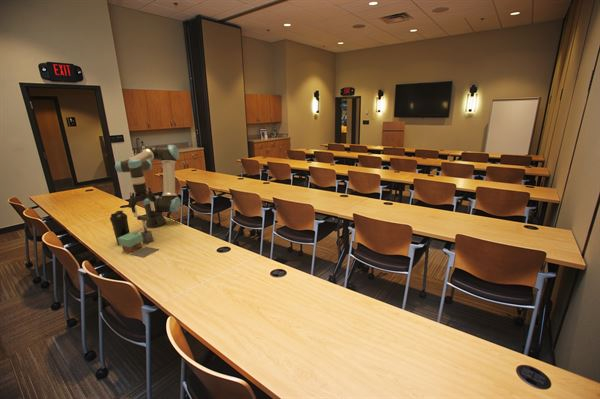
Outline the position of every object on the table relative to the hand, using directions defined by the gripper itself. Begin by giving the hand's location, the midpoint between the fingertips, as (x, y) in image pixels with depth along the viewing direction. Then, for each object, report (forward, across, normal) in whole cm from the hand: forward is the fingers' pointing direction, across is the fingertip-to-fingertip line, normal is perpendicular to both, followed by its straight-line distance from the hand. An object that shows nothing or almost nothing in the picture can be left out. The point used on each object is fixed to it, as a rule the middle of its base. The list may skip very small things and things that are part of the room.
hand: (144, 213), depth 198 cm
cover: (+17, +12, -3) cm, 21 cm away
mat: (+22, +12, +8) cm, 26 cm away
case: (+22, +12, -3) cm, 25 cm away
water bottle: (+22, +6, -19) cm, 30 cm away
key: (+13, +4, -3) cm, 14 cm away
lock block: (+22, 0, -3) cm, 22 cm away
